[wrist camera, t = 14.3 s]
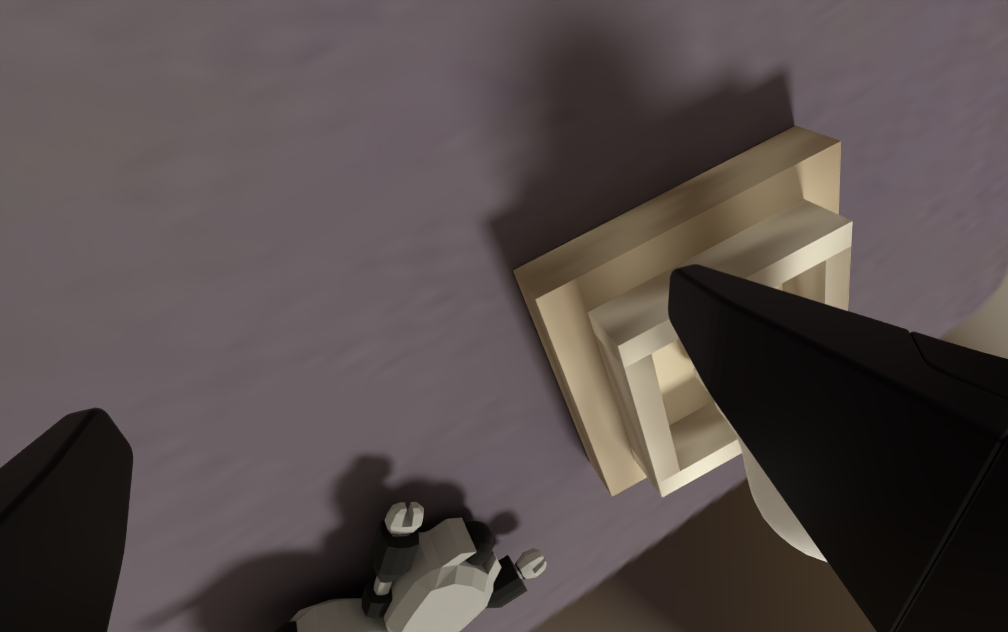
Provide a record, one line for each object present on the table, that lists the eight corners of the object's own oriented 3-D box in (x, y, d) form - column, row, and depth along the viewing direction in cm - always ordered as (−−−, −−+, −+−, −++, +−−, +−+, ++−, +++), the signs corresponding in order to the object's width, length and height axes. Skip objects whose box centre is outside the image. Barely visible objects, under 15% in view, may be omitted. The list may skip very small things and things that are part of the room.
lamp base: (590, 463, 33) (636, 534, 29) (512, 270, 24) (562, 334, 20) (799, 348, 34) (871, 401, 30) (795, 125, 25) (895, 159, 21)
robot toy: (382, 452, 28) (200, 662, 30) (406, 520, 25) (197, 756, 26) (537, 520, 35) (384, 687, 37) (573, 581, 32) (401, 763, 33)
